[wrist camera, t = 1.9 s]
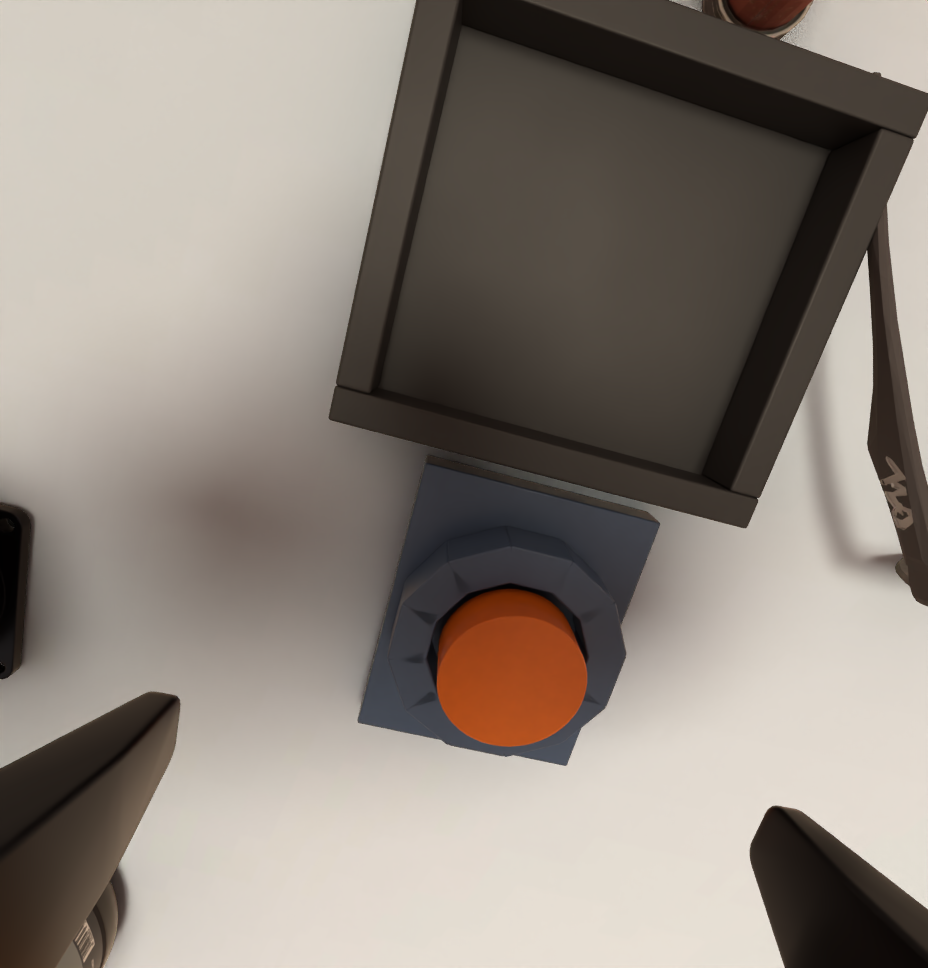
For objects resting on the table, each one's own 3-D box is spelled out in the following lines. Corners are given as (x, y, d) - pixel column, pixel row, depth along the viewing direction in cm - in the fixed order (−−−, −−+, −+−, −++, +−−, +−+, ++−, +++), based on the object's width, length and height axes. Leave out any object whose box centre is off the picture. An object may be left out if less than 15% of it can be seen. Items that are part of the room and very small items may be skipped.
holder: (709, 504, 19) (747, 529, 17) (343, 407, 18) (327, 420, 16) (863, 129, 16) (936, 94, 14) (435, -20, 15) (433, -86, 13)
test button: (550, 720, 19) (560, 760, 17) (422, 693, 18) (420, 730, 16) (593, 605, 17) (608, 635, 16) (458, 573, 17) (459, 600, 15)
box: (560, 743, 22) (577, 807, 19) (361, 701, 21) (348, 760, 18) (648, 511, 19) (683, 543, 16) (426, 454, 19) (423, 477, 16)
